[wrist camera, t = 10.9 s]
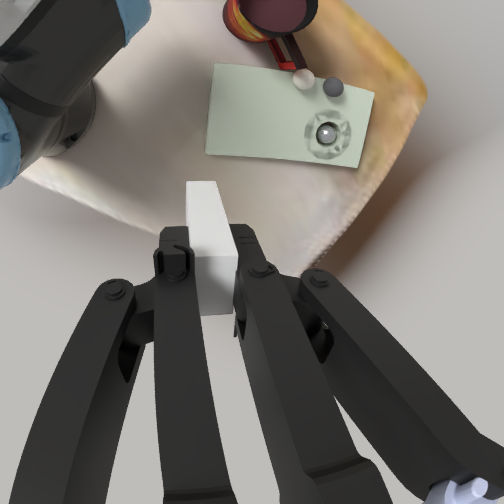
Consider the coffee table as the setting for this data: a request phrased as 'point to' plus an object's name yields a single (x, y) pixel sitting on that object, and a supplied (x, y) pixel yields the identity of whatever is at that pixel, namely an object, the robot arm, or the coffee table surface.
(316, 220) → the coffee table surface
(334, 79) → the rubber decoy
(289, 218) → the coffee table surface
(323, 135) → the steel ball
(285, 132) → the board
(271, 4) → the mug
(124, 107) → the coffee table surface
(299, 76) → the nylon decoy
